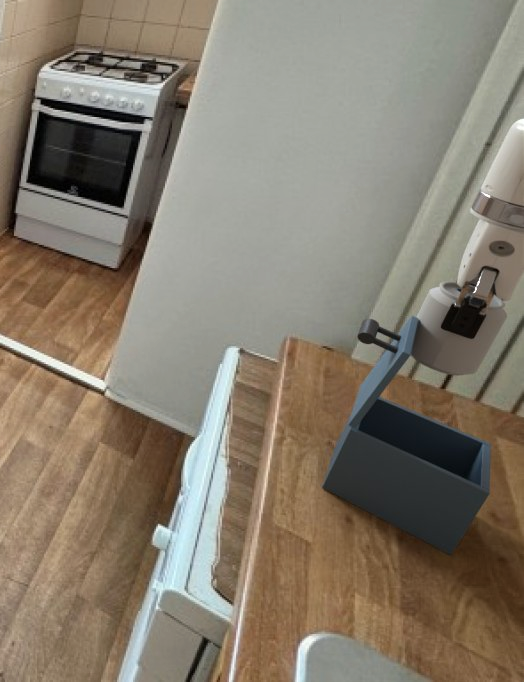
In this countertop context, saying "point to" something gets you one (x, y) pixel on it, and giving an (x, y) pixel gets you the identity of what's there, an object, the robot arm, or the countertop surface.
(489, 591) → the countertop surface
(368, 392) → the lid
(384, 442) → the compartment
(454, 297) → the can
